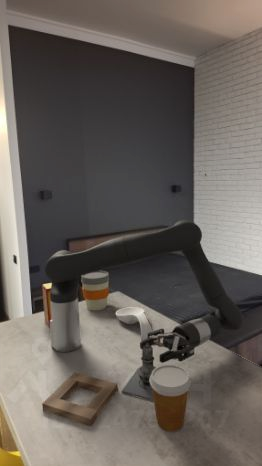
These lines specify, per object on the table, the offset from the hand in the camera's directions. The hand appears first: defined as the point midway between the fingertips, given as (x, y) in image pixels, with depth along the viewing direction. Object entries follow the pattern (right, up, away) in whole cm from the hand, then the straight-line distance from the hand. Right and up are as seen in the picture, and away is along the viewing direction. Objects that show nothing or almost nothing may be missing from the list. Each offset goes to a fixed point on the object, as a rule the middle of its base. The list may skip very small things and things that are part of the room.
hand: (150, 352), depth 88 cm
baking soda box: (-35, -4, +44) cm, 56 cm away
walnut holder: (-18, -11, -4) cm, 22 cm away
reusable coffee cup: (-21, -1, +58) cm, 61 cm away
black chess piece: (0, -9, +1) cm, 9 cm away
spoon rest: (-3, -4, +37) cm, 38 cm away
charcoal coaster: (0, -10, +1) cm, 10 cm away
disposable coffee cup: (+4, -12, -12) cm, 18 cm away
